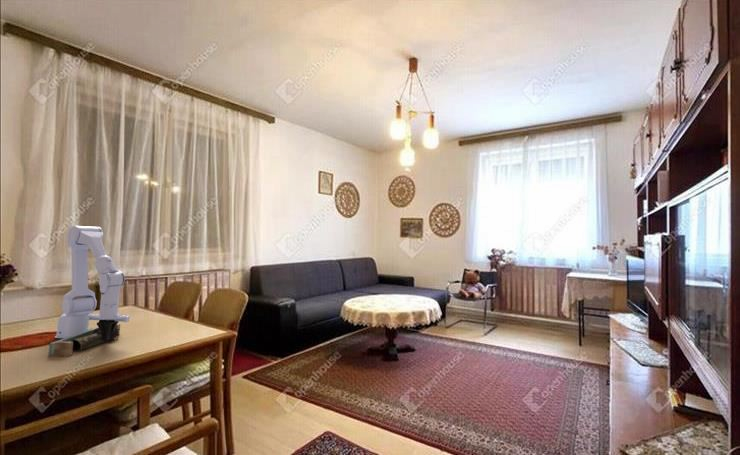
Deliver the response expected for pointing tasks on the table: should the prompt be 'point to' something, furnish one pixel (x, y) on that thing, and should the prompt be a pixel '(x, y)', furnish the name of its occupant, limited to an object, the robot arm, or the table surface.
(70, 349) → the dock
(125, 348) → the table surface
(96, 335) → the metal pipe
